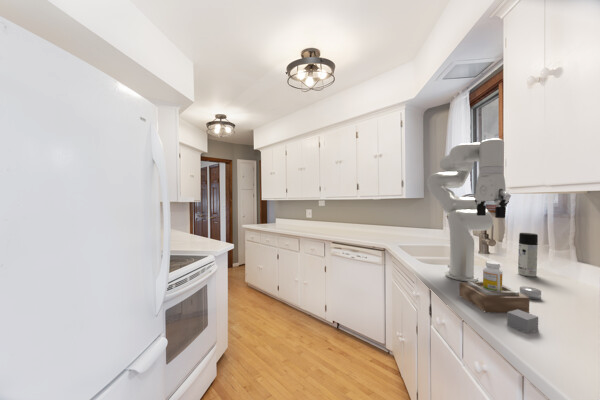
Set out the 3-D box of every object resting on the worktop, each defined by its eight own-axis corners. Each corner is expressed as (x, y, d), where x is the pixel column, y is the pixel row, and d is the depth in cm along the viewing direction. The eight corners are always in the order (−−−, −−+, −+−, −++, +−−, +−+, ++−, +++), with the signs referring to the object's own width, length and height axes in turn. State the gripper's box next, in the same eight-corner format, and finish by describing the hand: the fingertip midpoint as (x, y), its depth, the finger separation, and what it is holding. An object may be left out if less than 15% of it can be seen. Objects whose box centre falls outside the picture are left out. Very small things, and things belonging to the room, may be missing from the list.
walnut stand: (459, 295, 96) (459, 279, 96) (496, 295, 96) (496, 280, 96) (485, 312, 82) (486, 294, 82) (529, 312, 82) (529, 294, 82)
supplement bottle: (493, 286, 91) (494, 260, 91) (506, 292, 86) (506, 264, 86) (479, 287, 91) (479, 260, 91) (490, 292, 86) (491, 264, 86)
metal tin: (515, 294, 98) (515, 286, 98) (530, 294, 98) (531, 286, 98) (529, 300, 92) (529, 292, 92) (545, 300, 92) (546, 292, 92)
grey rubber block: (507, 325, 74) (507, 312, 74) (517, 322, 76) (518, 309, 76) (527, 334, 70) (527, 319, 70) (538, 330, 71) (538, 316, 71)
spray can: (518, 271, 125) (519, 232, 125) (537, 274, 120) (538, 233, 120) (517, 274, 120) (518, 233, 120) (536, 278, 116) (537, 235, 115)
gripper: (466, 173, 104) (465, 214, 105) (498, 169, 87) (497, 218, 88) (484, 173, 104) (483, 214, 105) (520, 169, 87) (519, 218, 87)
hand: (490, 216), depth 96 cm, fingers open, 9 cm apart
